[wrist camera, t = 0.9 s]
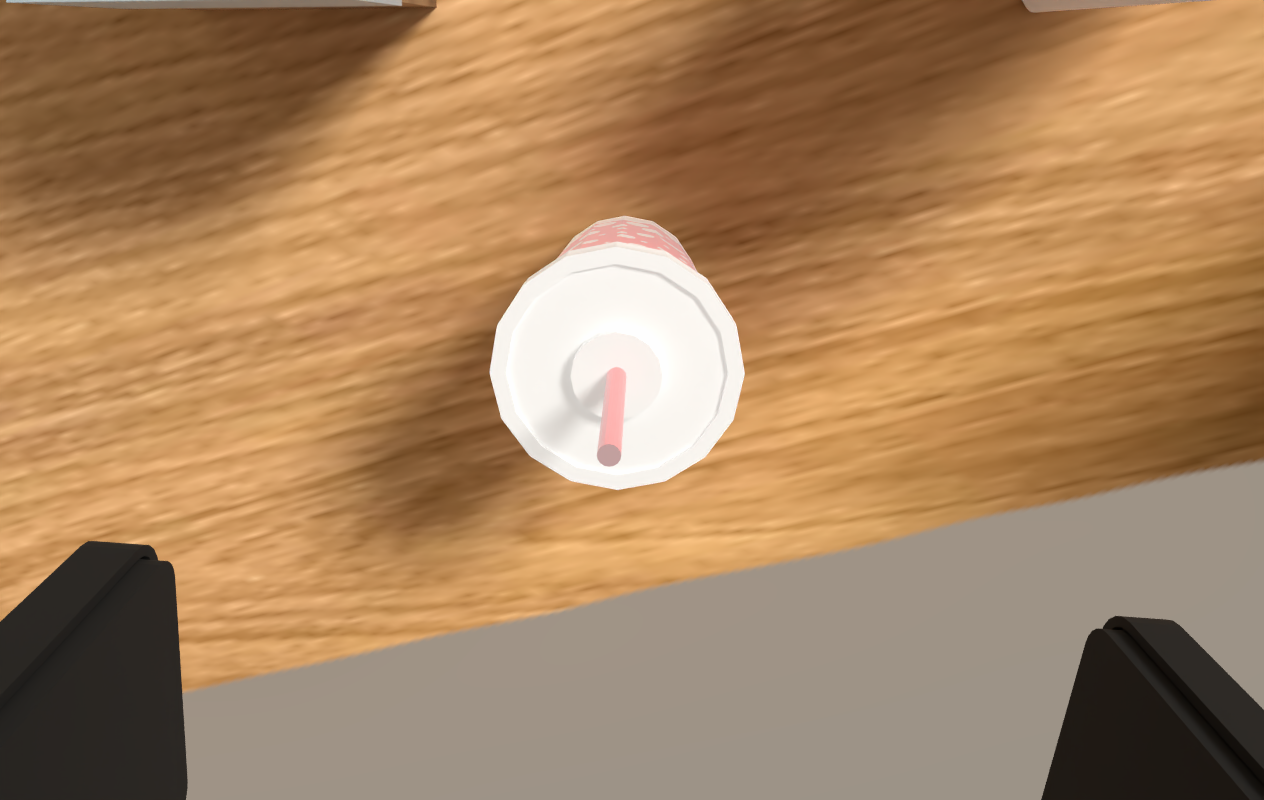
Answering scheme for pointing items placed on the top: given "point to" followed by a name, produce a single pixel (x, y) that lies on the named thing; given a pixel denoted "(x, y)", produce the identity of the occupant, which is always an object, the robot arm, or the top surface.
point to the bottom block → (407, 2)
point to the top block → (209, 3)
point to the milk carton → (1089, 4)
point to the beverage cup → (618, 359)
